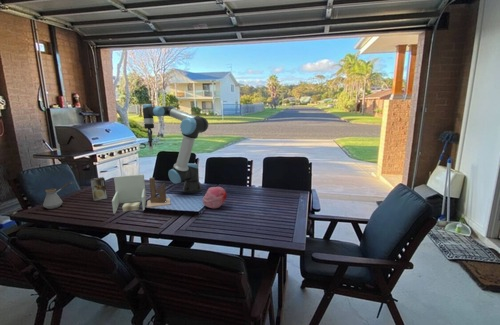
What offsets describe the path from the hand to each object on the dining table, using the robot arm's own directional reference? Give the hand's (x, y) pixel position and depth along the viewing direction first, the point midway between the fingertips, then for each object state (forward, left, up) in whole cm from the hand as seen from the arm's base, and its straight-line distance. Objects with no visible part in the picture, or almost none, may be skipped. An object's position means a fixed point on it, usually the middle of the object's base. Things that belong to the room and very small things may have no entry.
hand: (151, 149), depth 225 cm
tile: (-3, +37, -35) cm, 51 cm away
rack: (+16, +37, -35) cm, 53 cm away
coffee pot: (+65, +15, -35) cm, 75 cm away
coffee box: (+40, +10, -35) cm, 54 cm away
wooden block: (-3, +37, -34) cm, 50 cm away
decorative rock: (-40, +60, -35) cm, 80 cm away
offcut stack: (+15, +43, -35) cm, 57 cm away
